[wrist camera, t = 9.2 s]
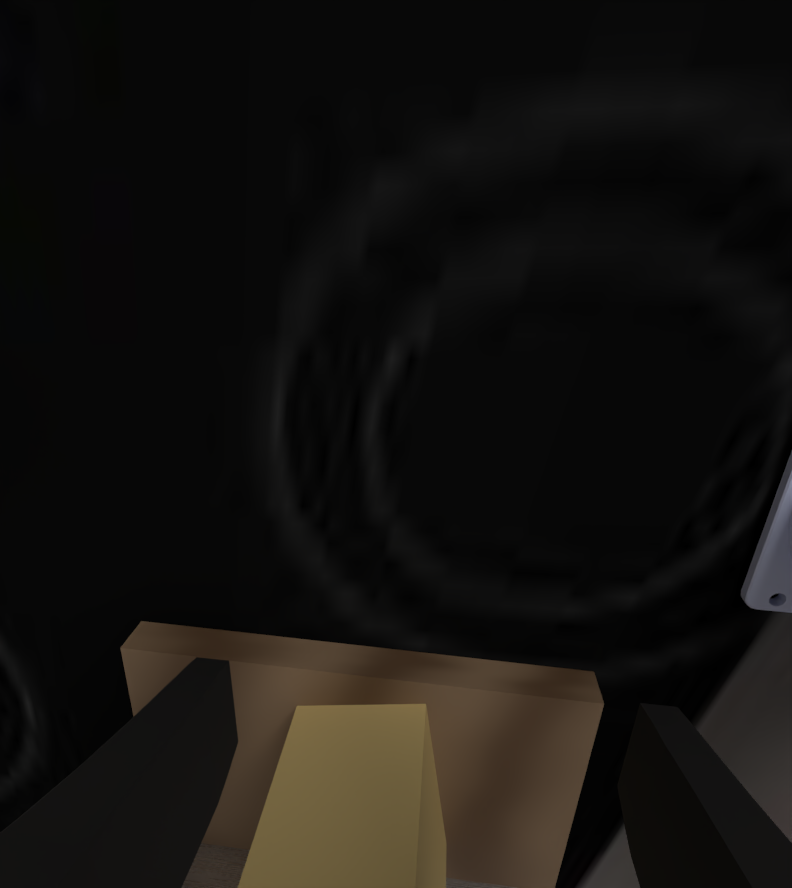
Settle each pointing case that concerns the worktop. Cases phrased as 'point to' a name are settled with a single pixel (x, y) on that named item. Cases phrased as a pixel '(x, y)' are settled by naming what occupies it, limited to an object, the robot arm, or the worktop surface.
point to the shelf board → (451, 727)
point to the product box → (352, 803)
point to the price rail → (222, 866)
